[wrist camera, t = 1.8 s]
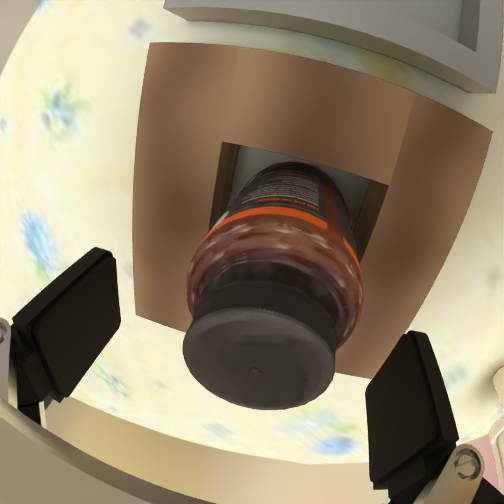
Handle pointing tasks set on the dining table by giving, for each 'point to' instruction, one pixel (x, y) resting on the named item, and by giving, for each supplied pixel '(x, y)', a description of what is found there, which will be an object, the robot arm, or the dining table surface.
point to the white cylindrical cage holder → (498, 430)
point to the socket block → (307, 148)
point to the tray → (384, 30)
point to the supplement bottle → (274, 291)
